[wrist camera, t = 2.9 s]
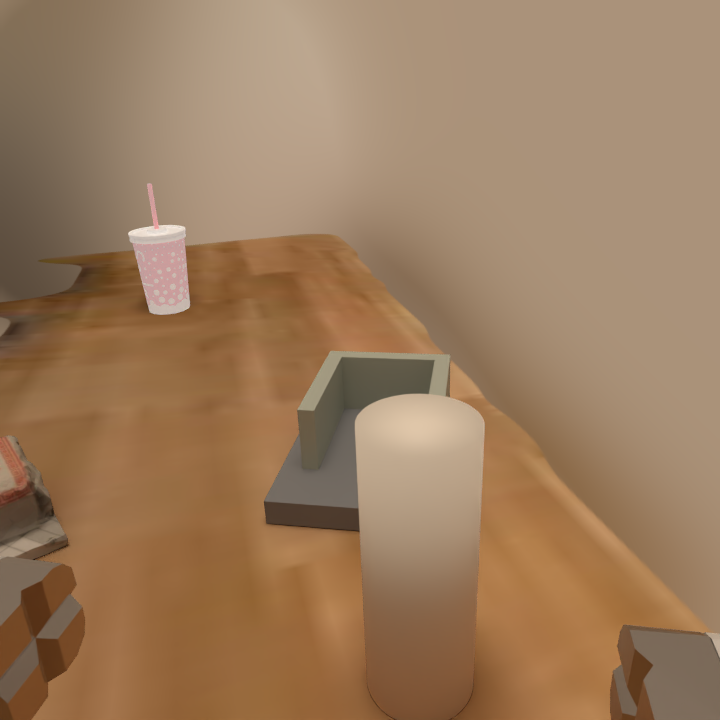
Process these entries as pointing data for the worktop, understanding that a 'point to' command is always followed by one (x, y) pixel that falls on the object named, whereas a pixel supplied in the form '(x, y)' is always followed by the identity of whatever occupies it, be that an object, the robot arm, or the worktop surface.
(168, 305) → the beverage cup
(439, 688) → the tall white cylinder
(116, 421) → the worktop surface
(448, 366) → the cradle jig
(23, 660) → the robot arm
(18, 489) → the packaged product
